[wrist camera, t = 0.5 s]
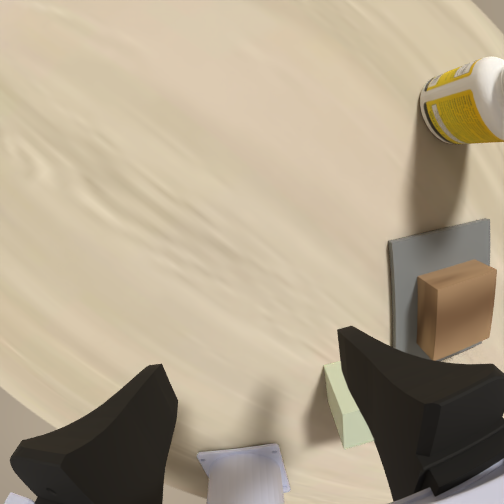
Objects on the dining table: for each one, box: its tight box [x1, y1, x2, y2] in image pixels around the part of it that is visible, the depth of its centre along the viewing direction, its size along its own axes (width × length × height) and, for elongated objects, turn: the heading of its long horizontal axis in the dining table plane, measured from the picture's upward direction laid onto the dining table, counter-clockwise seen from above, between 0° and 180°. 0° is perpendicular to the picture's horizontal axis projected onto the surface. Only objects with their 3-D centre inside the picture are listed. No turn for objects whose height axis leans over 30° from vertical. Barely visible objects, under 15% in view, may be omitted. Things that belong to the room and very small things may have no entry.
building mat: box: [388, 218, 490, 361], centre depth 22 cm, size 12×10×1 cm
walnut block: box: [416, 259, 497, 361], centre depth 20 cm, size 6×6×3 cm
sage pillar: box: [324, 361, 374, 449], centre depth 21 cm, size 4×4×6 cm
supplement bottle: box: [420, 57, 504, 144], centre depth 14 cm, size 5×5×10 cm
